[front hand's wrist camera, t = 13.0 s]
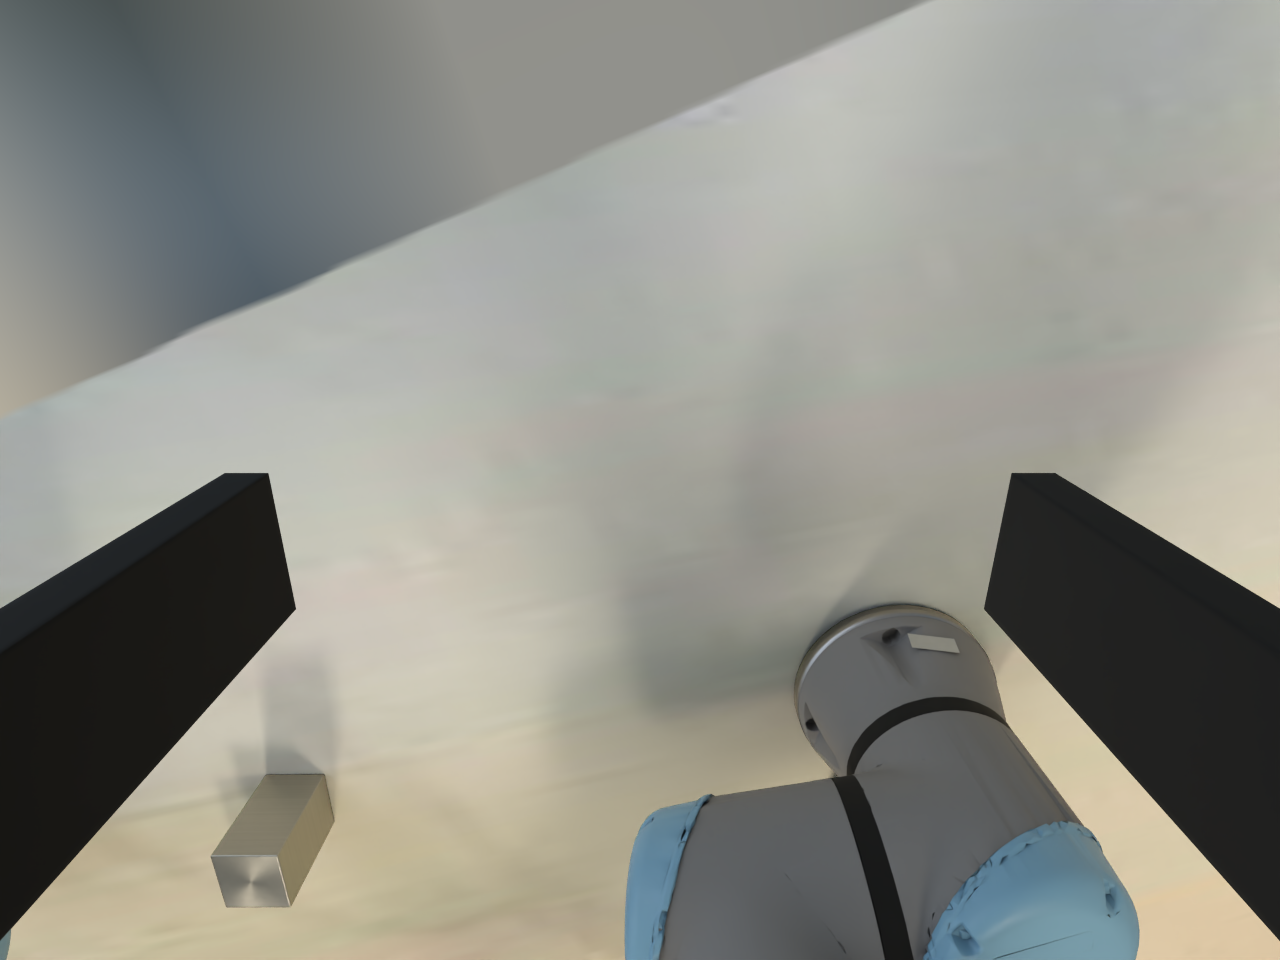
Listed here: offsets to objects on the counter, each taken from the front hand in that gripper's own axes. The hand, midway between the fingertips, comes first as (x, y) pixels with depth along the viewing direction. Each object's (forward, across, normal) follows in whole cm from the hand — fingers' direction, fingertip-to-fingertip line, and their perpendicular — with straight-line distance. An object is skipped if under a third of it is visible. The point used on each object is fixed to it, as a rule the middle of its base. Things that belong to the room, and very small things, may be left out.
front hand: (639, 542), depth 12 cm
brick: (+34, +29, +41) cm, 61 cm away
